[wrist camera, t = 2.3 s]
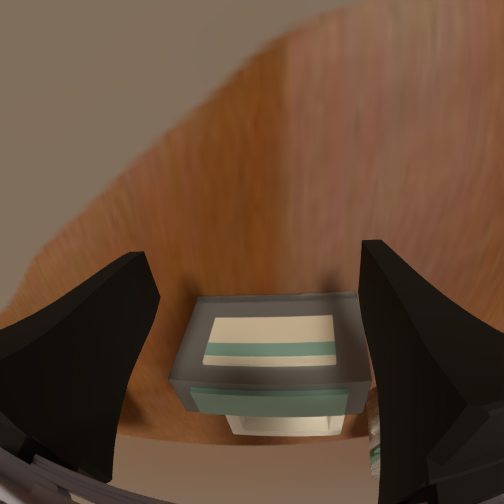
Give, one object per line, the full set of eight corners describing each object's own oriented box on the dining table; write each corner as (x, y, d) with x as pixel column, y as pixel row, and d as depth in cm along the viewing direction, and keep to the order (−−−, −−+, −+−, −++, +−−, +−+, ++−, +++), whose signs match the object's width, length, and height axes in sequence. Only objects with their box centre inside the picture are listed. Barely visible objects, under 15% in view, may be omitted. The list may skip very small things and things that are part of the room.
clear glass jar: (417, 377, 21) (433, 456, 15) (405, 403, 23) (416, 474, 17) (368, 383, 22) (377, 466, 16) (361, 408, 24) (366, 481, 18)
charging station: (356, 287, 17) (373, 383, 11) (339, 413, 24) (340, 477, 19) (197, 292, 18) (164, 381, 13) (237, 413, 26) (226, 475, 20)
